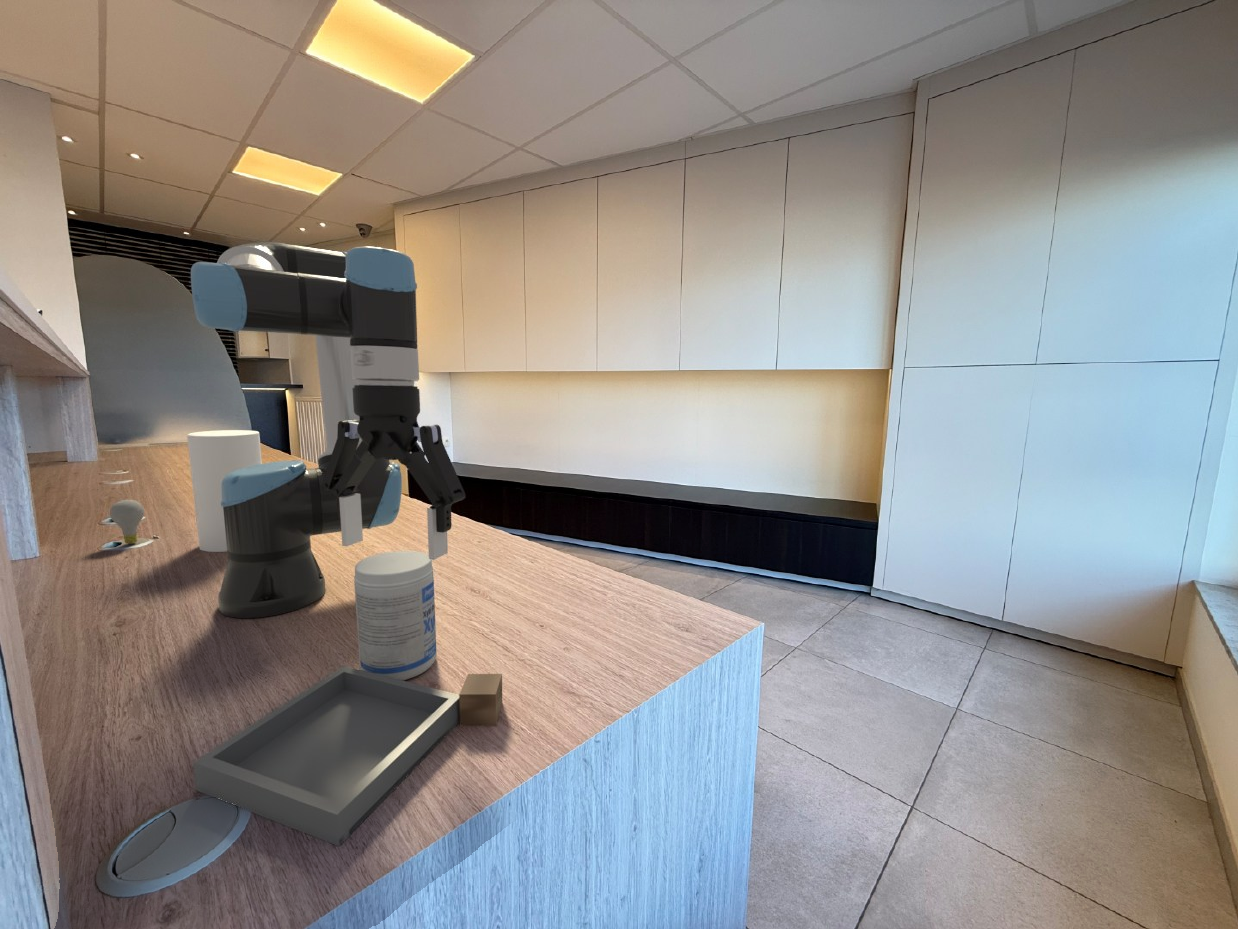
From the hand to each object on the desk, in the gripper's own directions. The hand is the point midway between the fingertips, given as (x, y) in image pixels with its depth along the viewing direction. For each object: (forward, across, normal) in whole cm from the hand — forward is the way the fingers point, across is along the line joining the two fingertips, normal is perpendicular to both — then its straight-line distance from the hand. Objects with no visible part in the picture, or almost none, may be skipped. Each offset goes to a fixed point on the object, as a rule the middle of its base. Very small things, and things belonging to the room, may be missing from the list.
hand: (394, 549), depth 66 cm
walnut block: (+17, +16, -5) cm, 23 cm away
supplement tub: (+17, 0, 0) cm, 17 cm away
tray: (+16, +6, -15) cm, 23 cm away
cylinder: (+16, -69, +27) cm, 76 cm away
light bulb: (+16, -88, +18) cm, 92 cm away
